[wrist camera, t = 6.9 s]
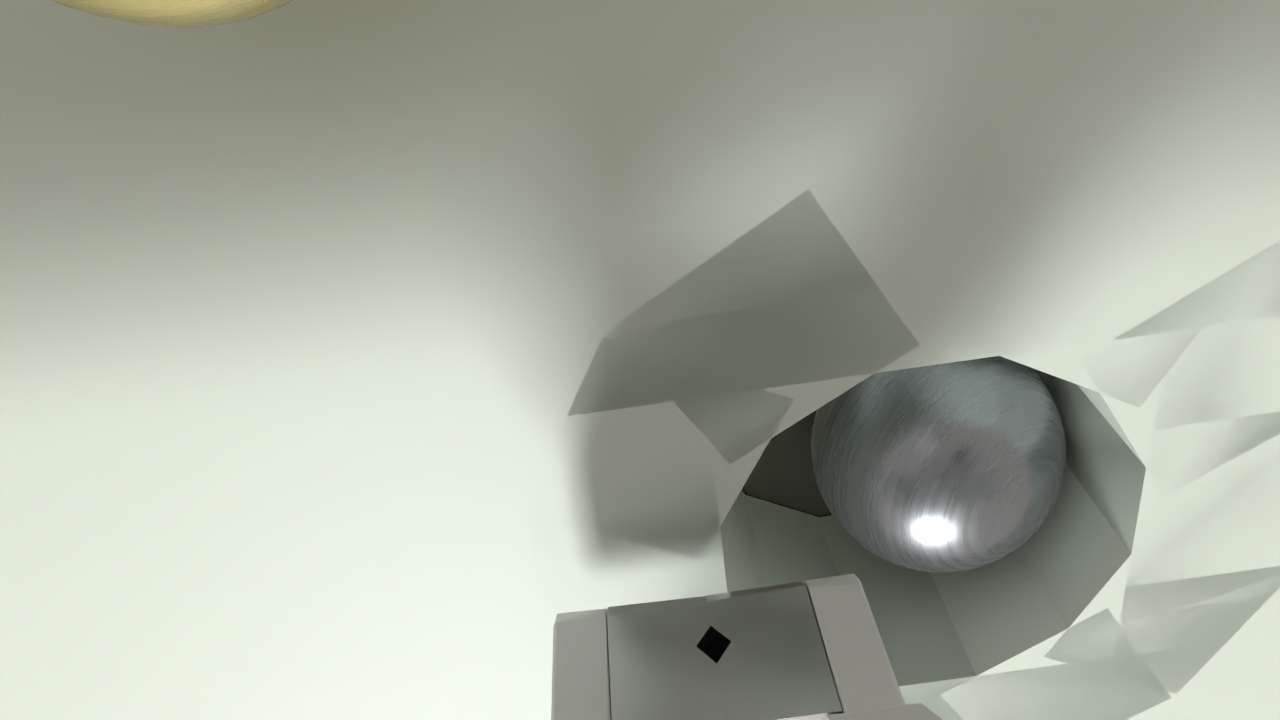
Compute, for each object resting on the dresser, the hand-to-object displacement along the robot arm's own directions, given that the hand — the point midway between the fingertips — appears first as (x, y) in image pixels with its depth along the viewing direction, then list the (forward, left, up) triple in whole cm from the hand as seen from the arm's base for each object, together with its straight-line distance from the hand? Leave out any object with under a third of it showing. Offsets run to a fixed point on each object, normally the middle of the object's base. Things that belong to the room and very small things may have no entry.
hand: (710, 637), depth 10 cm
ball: (0, +3, -3) cm, 4 cm away
